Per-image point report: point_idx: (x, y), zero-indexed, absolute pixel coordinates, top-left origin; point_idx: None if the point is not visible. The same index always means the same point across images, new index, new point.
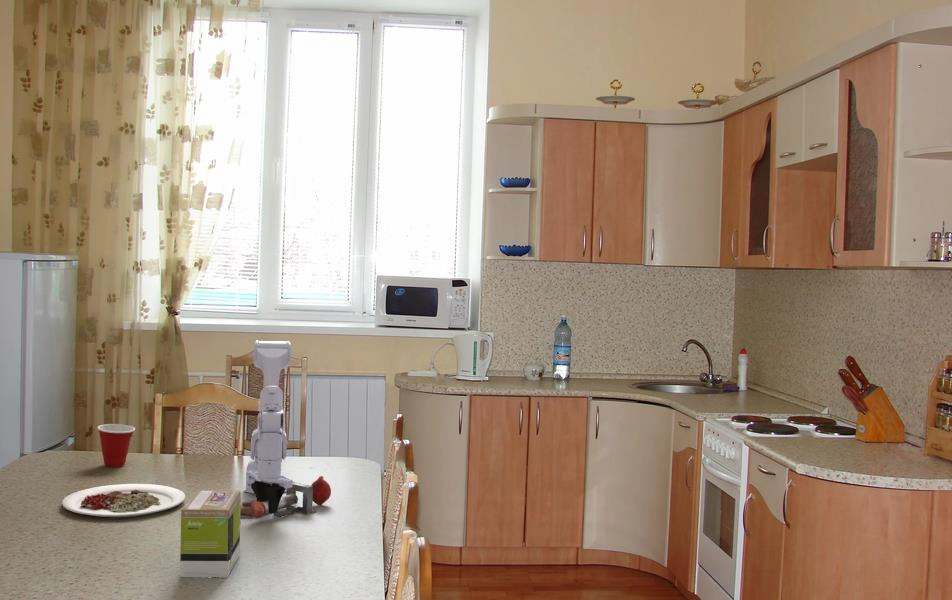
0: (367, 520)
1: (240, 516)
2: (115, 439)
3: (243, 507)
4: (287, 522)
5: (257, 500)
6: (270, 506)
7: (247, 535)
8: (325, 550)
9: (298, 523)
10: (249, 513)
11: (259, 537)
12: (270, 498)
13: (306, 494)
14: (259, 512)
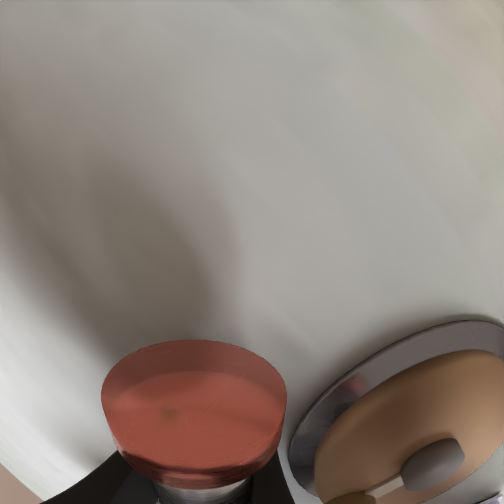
0: (20, 476)
1: (398, 349)
2: None
3: (434, 427)
4: (100, 413)
5: (279, 502)
6: (114, 456)
7: (60, 77)
8: None
9: (63, 415)
10: (360, 406)
11: (3, 114)
12: (70, 501)
13: None
14: (143, 367)
